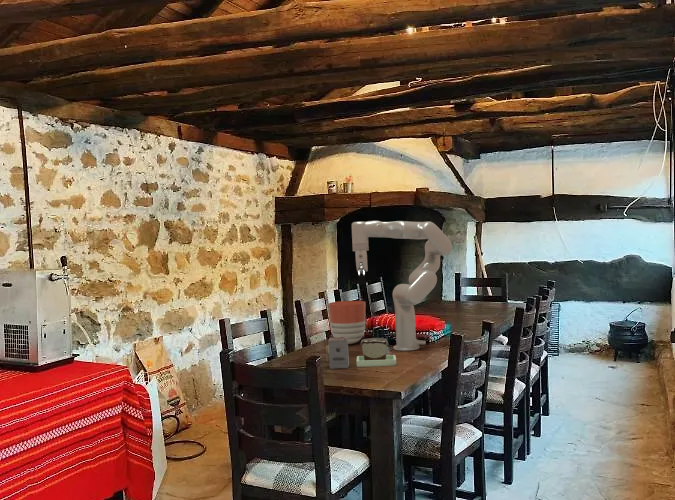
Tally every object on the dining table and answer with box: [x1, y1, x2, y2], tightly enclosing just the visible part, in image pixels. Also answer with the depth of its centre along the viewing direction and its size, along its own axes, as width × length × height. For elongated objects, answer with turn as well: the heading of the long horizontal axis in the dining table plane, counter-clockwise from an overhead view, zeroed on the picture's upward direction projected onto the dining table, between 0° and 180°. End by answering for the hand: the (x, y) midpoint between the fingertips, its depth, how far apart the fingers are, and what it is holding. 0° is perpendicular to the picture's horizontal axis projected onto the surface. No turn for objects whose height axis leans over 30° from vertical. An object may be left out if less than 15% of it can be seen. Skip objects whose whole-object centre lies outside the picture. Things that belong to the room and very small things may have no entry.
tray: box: [355, 354, 397, 368], centre depth 266 cm, size 17×11×2 cm, turn 87°
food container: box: [360, 337, 389, 360], centre depth 267 cm, size 12×6×10 cm, turn 73°
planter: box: [328, 300, 367, 345], centre depth 321 cm, size 20×20×21 cm
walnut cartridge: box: [325, 344, 329, 363], centre depth 276 cm, size 5×5×7 cm
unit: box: [327, 336, 350, 370], centre depth 264 cm, size 8×9×12 cm
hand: (362, 283), depth 289 cm, fingers open, 9 cm apart
